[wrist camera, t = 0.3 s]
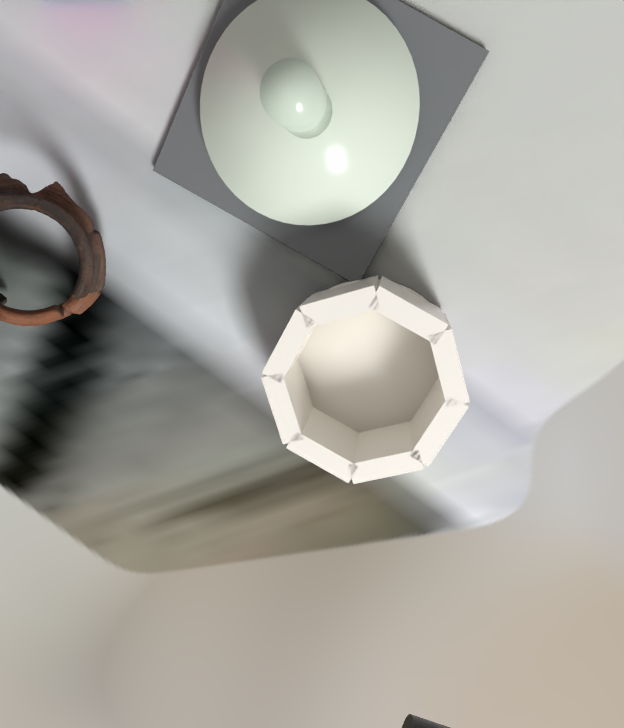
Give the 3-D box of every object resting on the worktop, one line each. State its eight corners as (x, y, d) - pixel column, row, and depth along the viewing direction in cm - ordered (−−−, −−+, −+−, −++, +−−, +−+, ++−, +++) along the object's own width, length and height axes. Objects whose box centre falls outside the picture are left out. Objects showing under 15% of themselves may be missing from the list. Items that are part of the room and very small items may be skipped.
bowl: (335, 246, 34) (323, 252, 29) (489, 333, 34) (506, 355, 28) (257, 391, 37) (233, 420, 32) (398, 471, 37) (398, 513, 32)
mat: (258, -75, 30) (255, -80, 30) (487, 53, 30) (489, 51, 29) (156, 170, 34) (152, 170, 34) (358, 284, 34) (357, 285, 34)
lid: (264, -50, 30) (231, -116, 24) (462, 60, 30) (477, 22, 24) (174, 162, 33) (126, 151, 27) (351, 262, 33) (340, 272, 27)
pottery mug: (10, 135, 35) (-6, 136, 28) (133, 235, 40) (146, 257, 33) (-110, 281, 36) (-155, 318, 29) (27, 363, 41) (17, 412, 34)
